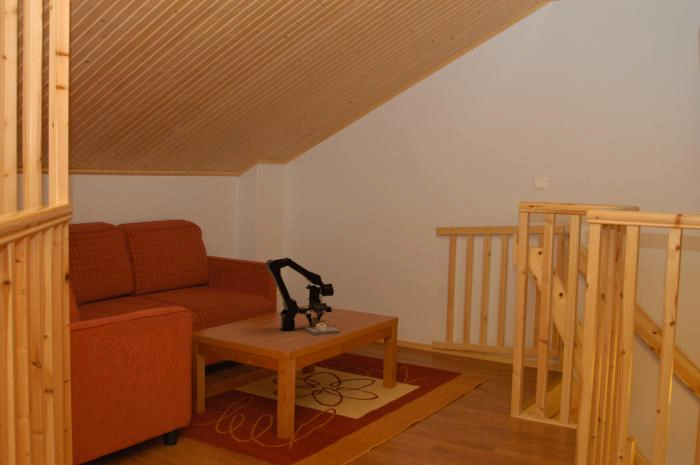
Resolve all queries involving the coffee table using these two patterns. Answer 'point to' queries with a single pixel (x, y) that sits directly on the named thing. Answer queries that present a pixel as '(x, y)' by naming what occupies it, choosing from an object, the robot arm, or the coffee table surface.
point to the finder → (321, 327)
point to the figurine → (321, 302)
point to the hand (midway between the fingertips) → (313, 325)
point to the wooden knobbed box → (313, 322)
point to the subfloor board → (316, 332)
